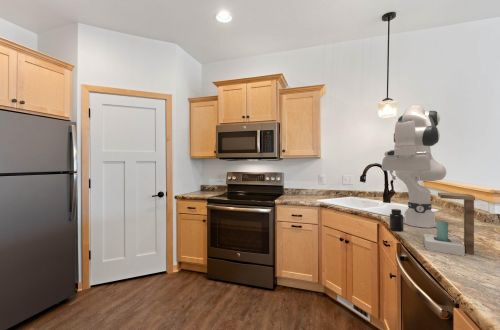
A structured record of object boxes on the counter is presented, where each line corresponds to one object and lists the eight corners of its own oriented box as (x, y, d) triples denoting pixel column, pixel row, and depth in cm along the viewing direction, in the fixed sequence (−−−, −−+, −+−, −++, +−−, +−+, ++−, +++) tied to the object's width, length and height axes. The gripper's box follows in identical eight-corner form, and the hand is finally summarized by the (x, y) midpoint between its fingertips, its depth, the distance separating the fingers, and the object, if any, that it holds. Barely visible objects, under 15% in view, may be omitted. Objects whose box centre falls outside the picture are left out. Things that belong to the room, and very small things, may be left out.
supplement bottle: (398, 228, 138) (398, 208, 138) (406, 231, 131) (406, 210, 131) (387, 228, 138) (387, 208, 138) (394, 231, 131) (394, 210, 131)
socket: (423, 241, 115) (423, 233, 115) (458, 246, 108) (458, 238, 108) (425, 249, 104) (425, 240, 104) (464, 256, 97) (464, 246, 97)
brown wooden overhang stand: (437, 244, 110) (437, 192, 110) (469, 249, 104) (469, 194, 104) (441, 251, 102) (440, 194, 102) (475, 256, 96) (475, 196, 96)
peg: (436, 246, 108) (436, 220, 108) (447, 247, 106) (447, 221, 106) (437, 248, 105) (437, 222, 105) (448, 250, 103) (448, 223, 103)
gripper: (430, 151, 112) (430, 180, 112) (382, 153, 123) (382, 178, 123) (432, 151, 106) (432, 181, 107) (381, 152, 118) (381, 179, 118)
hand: (405, 179), depth 115 cm, fingers open, 8 cm apart
